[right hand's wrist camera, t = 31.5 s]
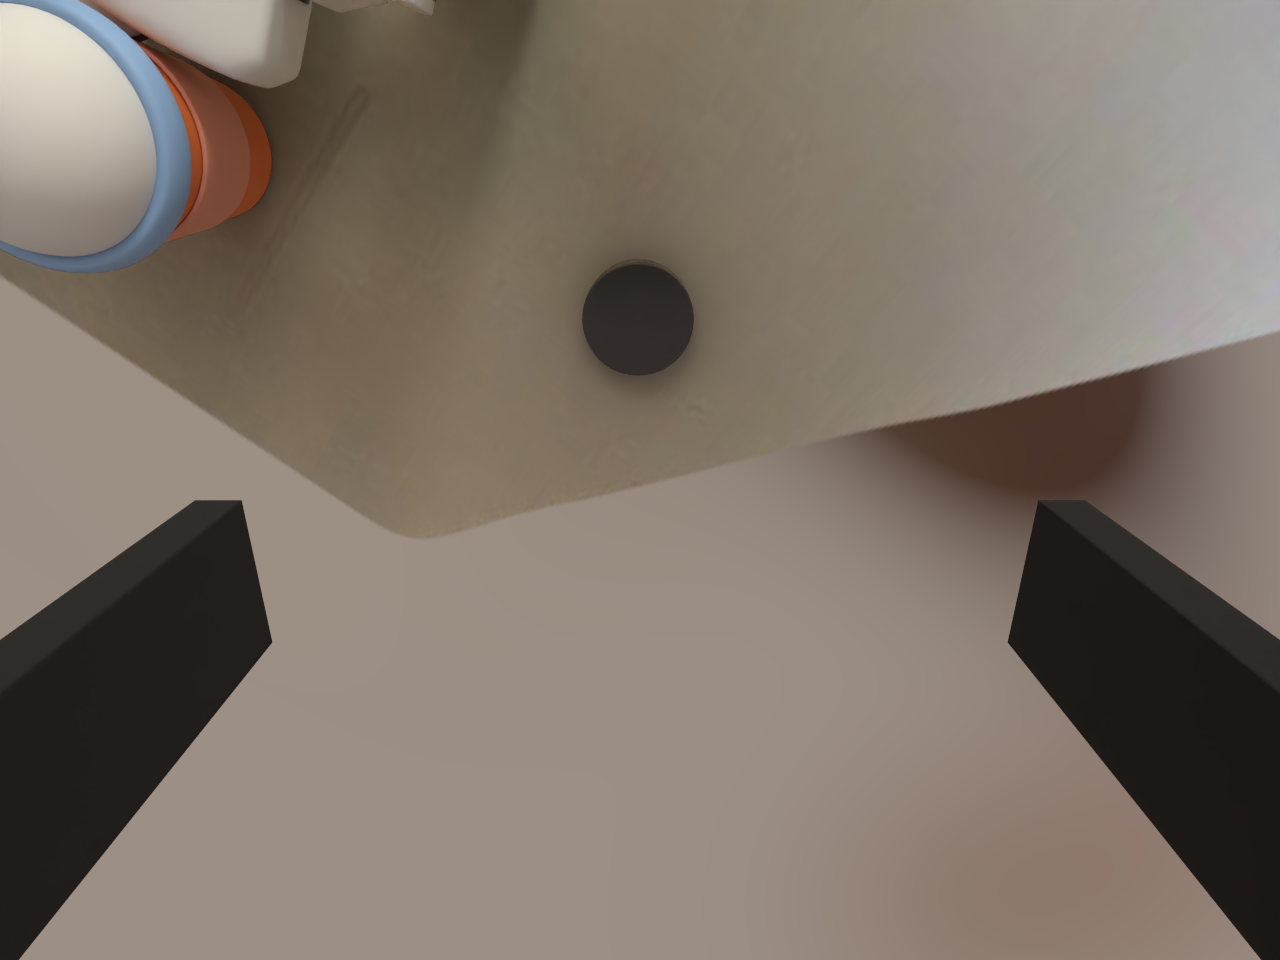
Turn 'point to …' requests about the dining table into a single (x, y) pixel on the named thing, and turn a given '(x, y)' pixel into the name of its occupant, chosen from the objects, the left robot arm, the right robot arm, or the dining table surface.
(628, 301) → the lid
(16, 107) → the cup with straw
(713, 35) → the dining table surface
